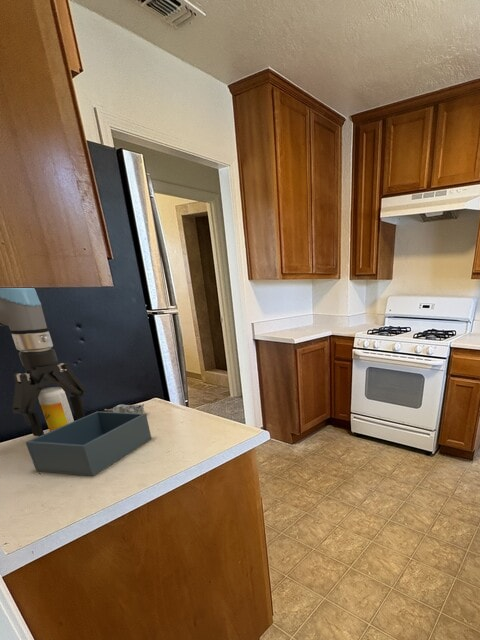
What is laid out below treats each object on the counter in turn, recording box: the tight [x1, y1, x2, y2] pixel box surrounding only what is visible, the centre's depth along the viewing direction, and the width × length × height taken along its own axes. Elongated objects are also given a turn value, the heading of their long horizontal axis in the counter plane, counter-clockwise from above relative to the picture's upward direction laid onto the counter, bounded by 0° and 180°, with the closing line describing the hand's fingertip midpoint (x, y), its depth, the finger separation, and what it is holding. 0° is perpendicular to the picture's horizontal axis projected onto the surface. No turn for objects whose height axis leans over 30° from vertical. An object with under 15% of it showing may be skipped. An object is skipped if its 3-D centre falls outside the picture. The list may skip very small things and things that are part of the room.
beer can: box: [37, 386, 75, 432], centre depth 98 cm, size 6×6×15 cm
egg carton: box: [103, 403, 146, 414], centre depth 117 cm, size 11×8×4 cm
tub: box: [25, 410, 153, 477], centre depth 91 cm, size 16×22×8 cm
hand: (61, 426), depth 99 cm, fingers open, 13 cm apart
